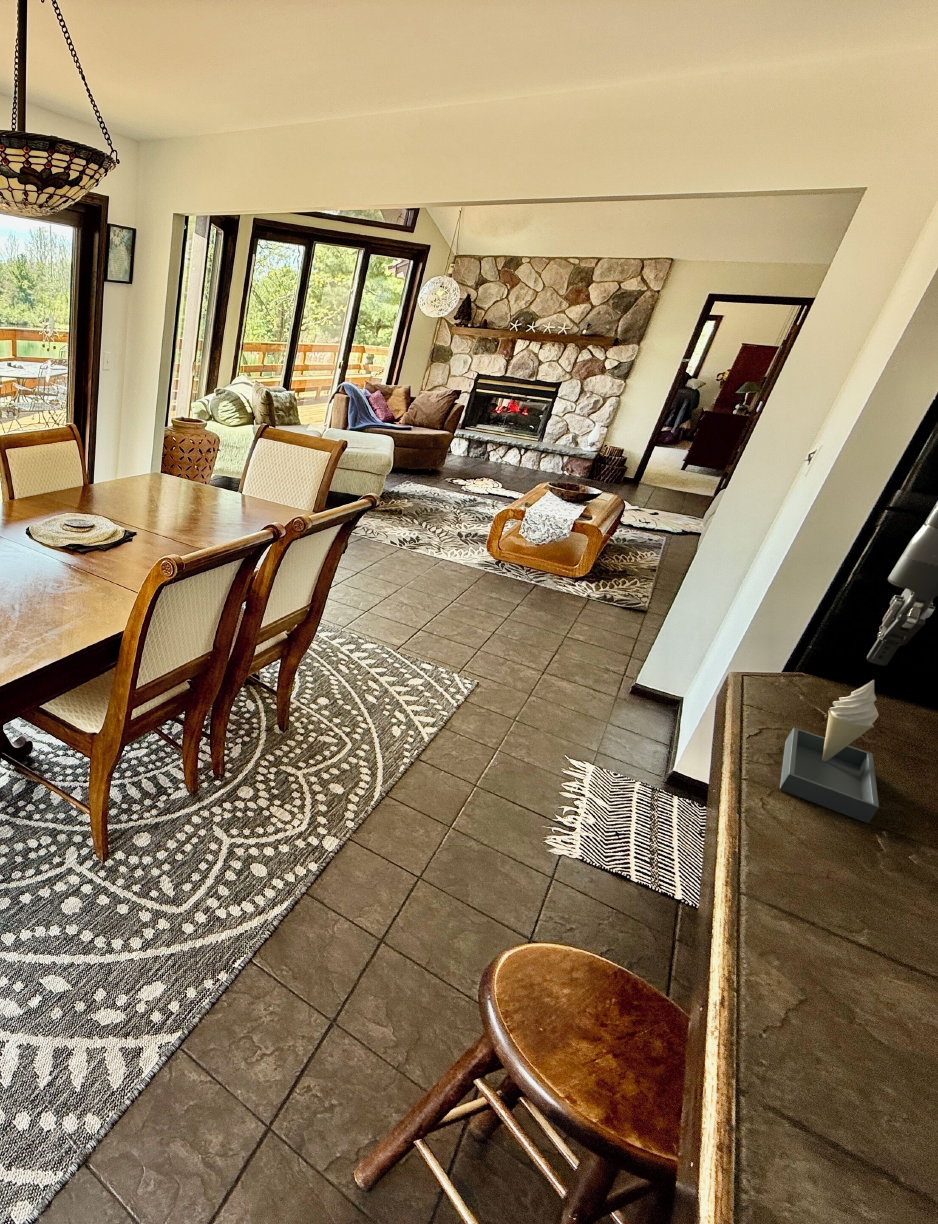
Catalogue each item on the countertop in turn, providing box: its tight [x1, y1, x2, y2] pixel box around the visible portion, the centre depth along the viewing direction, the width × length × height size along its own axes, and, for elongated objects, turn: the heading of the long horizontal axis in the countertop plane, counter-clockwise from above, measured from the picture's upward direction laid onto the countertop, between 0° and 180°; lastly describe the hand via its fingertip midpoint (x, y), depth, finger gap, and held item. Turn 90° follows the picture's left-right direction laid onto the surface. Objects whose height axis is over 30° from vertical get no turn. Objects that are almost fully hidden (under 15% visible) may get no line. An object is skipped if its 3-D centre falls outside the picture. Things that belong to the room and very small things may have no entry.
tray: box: [779, 727, 880, 824], centre depth 98 cm, size 20×9×3 cm, turn 133°
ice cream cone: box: [822, 679, 879, 762], centre depth 99 cm, size 5×5×15 cm
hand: (875, 662), depth 101 cm, fingers closed
